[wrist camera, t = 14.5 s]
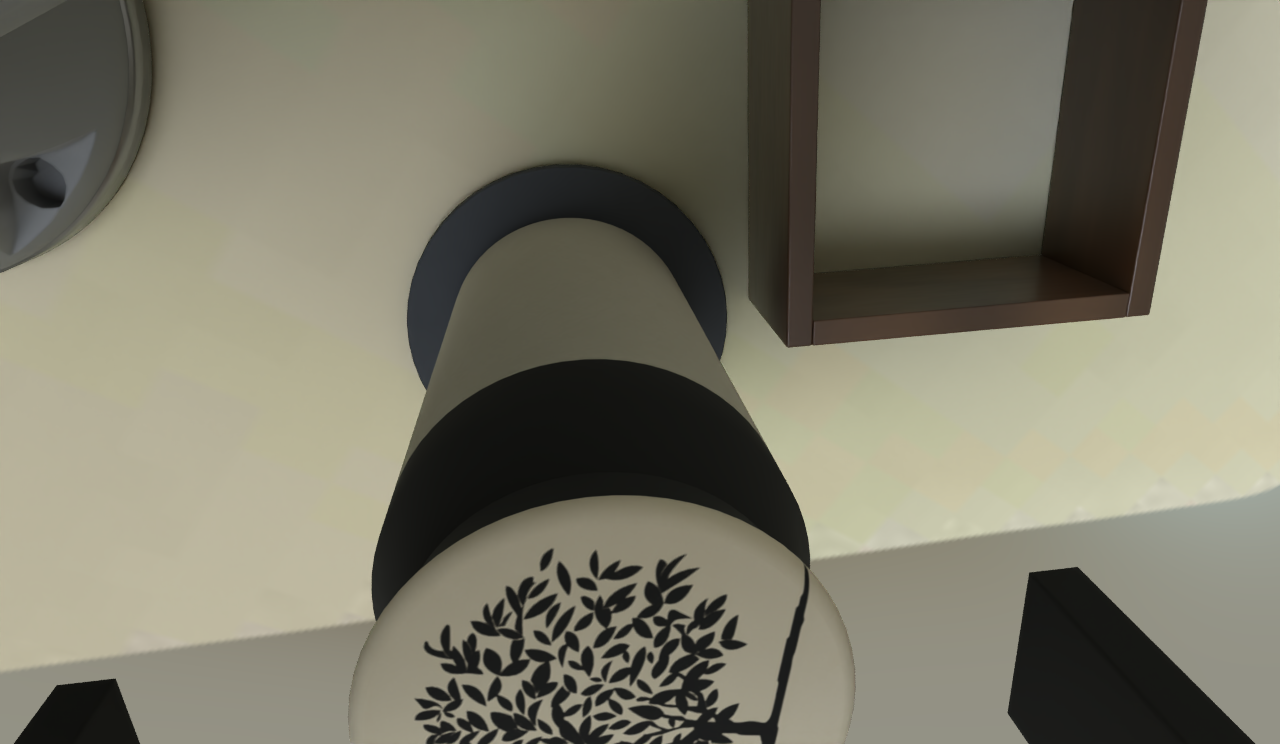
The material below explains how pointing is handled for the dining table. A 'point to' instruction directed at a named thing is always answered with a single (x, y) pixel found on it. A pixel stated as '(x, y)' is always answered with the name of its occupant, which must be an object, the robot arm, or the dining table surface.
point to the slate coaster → (554, 198)
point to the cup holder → (1078, 200)
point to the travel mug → (592, 528)
